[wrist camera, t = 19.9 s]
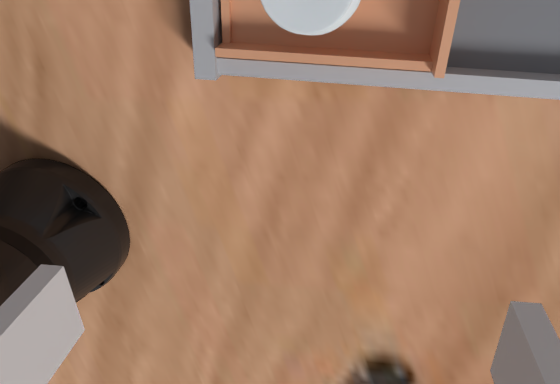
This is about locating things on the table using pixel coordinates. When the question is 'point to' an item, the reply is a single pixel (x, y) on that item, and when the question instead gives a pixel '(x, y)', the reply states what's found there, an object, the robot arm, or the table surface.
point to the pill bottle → (310, 14)
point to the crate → (348, 36)
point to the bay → (458, 77)
